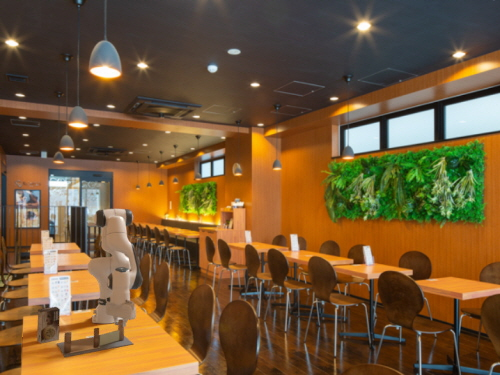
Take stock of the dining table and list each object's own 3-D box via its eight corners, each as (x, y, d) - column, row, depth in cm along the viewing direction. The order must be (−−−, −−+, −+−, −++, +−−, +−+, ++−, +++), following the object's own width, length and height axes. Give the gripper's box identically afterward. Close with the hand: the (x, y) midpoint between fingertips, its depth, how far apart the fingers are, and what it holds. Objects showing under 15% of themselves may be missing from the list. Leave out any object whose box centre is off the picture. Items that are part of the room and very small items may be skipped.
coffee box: (55, 336, 207) (56, 306, 209) (59, 339, 203) (60, 308, 204) (36, 340, 201) (37, 309, 202) (40, 343, 197) (41, 311, 198)
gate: (97, 345, 193) (98, 324, 194) (121, 338, 204) (122, 318, 205) (100, 346, 191) (101, 325, 192) (125, 339, 202) (125, 319, 203)
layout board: (56, 344, 196) (57, 343, 196) (120, 333, 214) (120, 332, 215) (64, 357, 178) (64, 356, 178) (133, 344, 196) (133, 343, 196)
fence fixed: (63, 352, 184) (64, 332, 184) (97, 345, 193) (98, 327, 193) (64, 354, 181) (65, 334, 182) (99, 347, 190) (99, 328, 191)
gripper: (139, 300, 201) (138, 327, 200) (113, 295, 212) (112, 321, 211) (129, 302, 195) (128, 330, 194) (103, 297, 206) (102, 324, 205)
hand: (120, 325), depth 203 cm, fingers open, 4 cm apart
